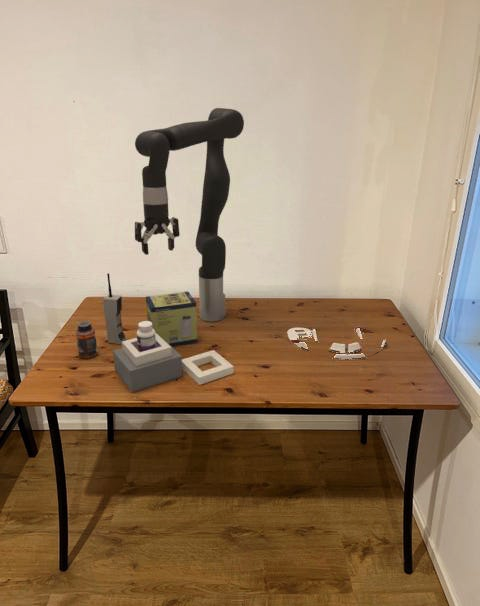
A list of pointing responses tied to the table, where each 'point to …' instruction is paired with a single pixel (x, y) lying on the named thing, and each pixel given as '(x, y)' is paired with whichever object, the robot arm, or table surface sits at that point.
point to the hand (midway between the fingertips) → (158, 252)
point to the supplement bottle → (86, 340)
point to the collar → (212, 374)
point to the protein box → (173, 317)
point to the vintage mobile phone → (113, 317)
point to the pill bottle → (146, 336)
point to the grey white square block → (147, 364)
